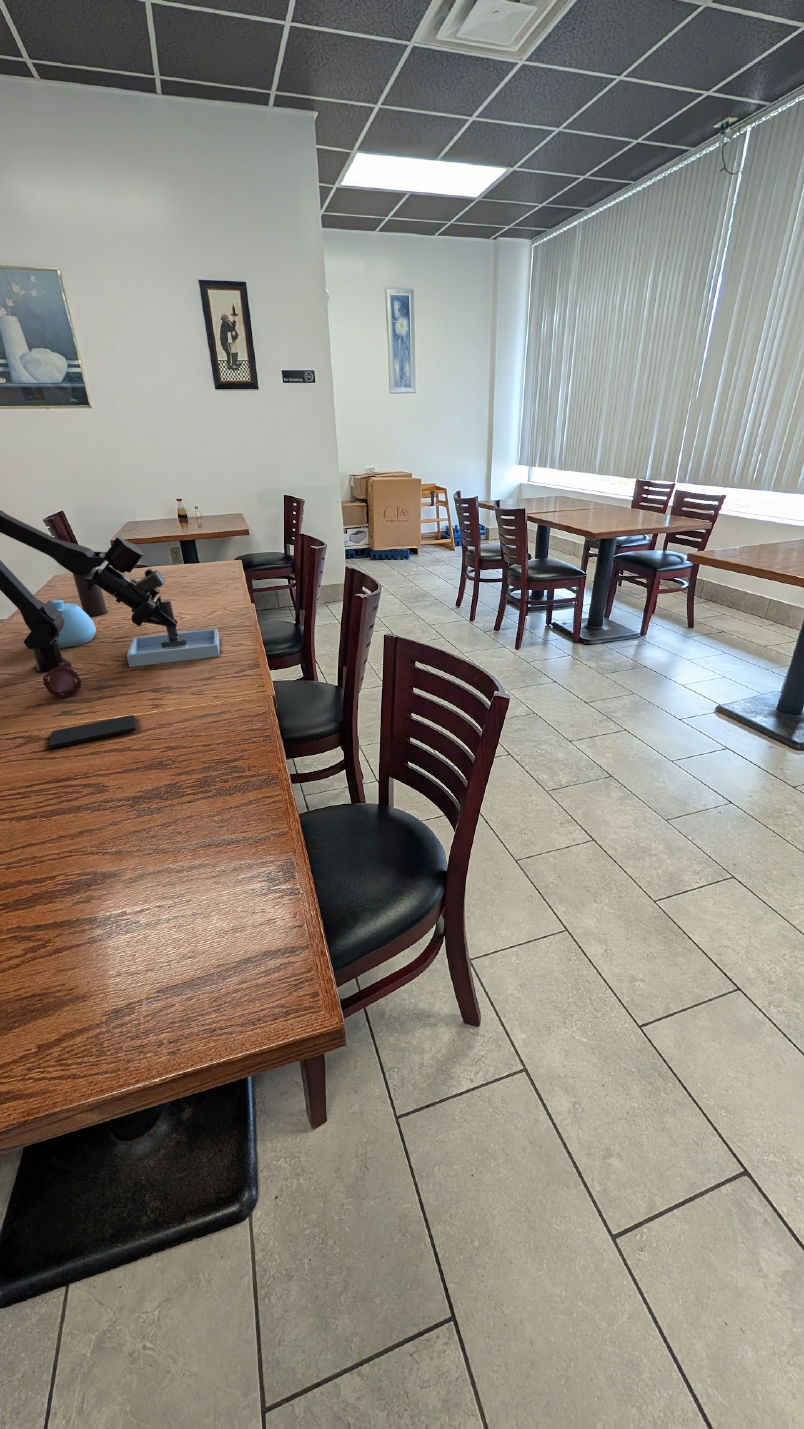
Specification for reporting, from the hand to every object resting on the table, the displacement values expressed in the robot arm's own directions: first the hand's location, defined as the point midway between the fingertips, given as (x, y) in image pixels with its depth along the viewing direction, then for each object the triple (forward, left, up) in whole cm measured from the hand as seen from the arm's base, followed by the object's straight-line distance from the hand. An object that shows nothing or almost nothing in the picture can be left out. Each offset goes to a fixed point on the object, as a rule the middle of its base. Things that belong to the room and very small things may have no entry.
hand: (176, 625), depth 151 cm
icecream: (+12, -29, -7) cm, 32 cm away
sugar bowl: (-31, -22, -7) cm, 39 cm away
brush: (0, -1, -7) cm, 7 cm away
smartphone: (+37, -28, -7) cm, 47 cm away
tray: (0, -1, -7) cm, 7 cm away
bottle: (-57, -10, -7) cm, 59 cm away
